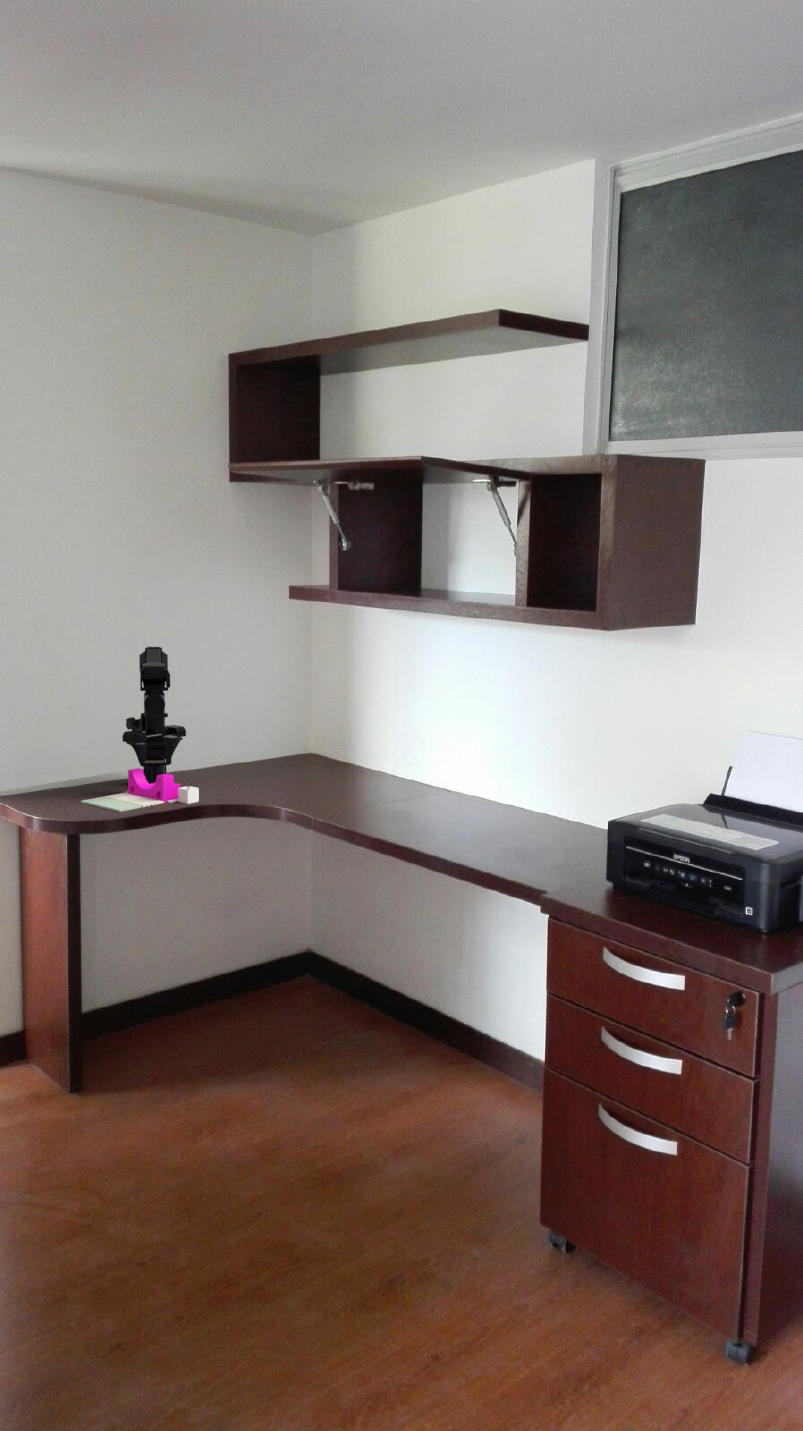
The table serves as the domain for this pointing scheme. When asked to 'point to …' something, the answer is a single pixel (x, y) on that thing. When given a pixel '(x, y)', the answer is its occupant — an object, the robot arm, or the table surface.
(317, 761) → the table surface
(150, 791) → the toy block
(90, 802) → the game board
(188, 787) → the die
